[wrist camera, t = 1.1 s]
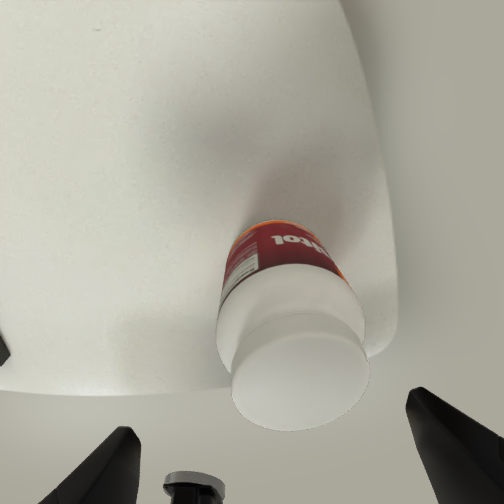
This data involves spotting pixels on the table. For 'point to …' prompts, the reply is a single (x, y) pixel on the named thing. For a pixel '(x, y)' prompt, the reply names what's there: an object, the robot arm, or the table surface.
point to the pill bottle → (289, 330)
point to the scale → (3, 352)
